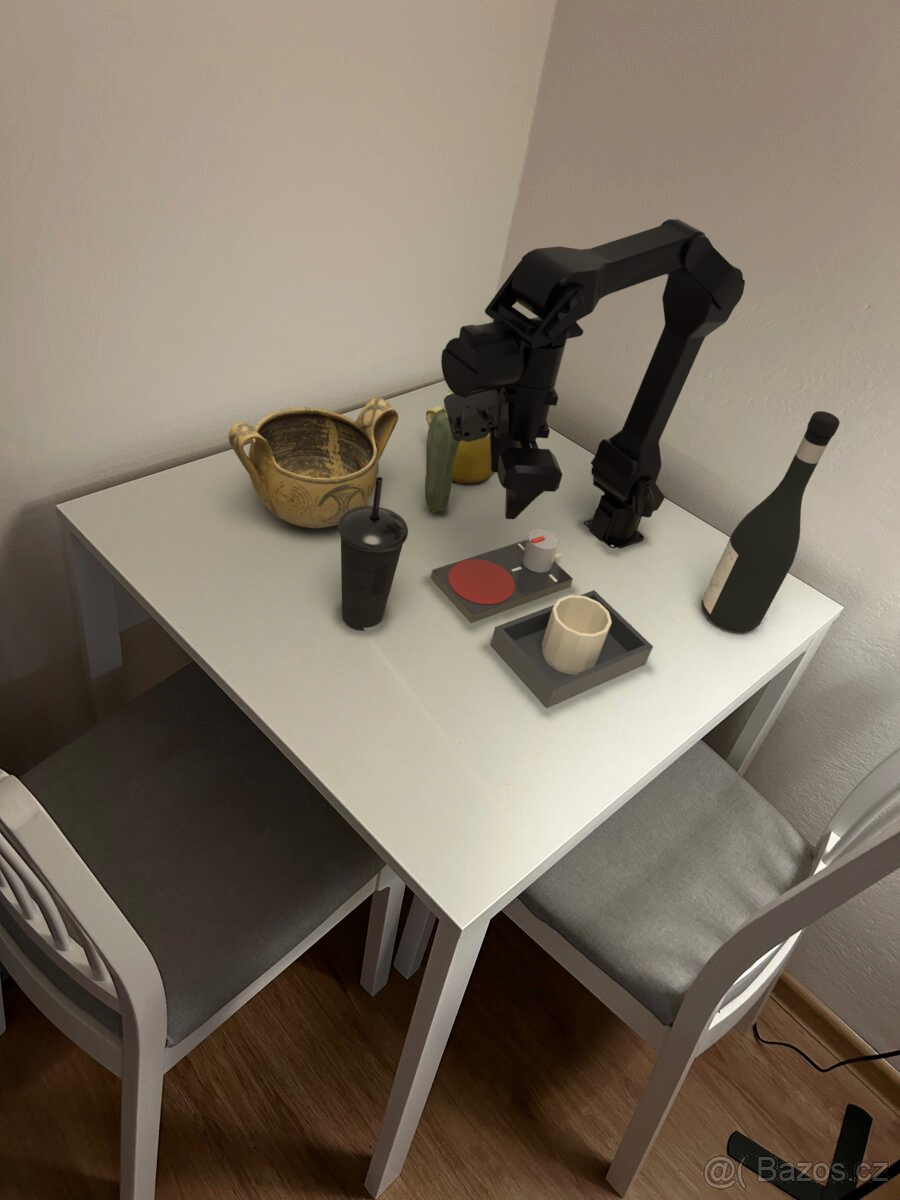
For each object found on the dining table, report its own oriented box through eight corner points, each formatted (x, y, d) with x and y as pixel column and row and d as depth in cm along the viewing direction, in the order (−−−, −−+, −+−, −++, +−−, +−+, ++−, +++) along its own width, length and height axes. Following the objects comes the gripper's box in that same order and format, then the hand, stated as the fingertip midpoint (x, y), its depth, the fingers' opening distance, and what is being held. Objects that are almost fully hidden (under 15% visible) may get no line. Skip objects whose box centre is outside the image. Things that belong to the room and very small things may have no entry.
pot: (572, 628, 110) (585, 589, 106) (607, 664, 107) (622, 625, 102) (530, 644, 107) (542, 605, 103) (565, 682, 103) (578, 642, 99)
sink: (586, 610, 114) (594, 589, 112) (644, 667, 108) (653, 646, 106) (489, 648, 106) (494, 626, 104) (545, 711, 100) (552, 690, 98)
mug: (520, 469, 132) (508, 411, 126) (464, 503, 129) (449, 445, 123) (473, 440, 141) (460, 385, 134) (420, 471, 138) (403, 416, 131)
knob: (539, 549, 119) (546, 524, 116) (558, 567, 116) (566, 542, 114) (515, 557, 117) (522, 531, 114) (534, 576, 114) (541, 550, 112)
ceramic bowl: (262, 569, 110) (264, 468, 100) (206, 494, 120) (202, 394, 110) (413, 525, 122) (428, 430, 112) (351, 459, 131) (359, 366, 121)
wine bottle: (689, 615, 117) (781, 414, 97) (711, 586, 122) (803, 390, 102) (746, 645, 114) (853, 445, 94) (767, 614, 119) (872, 419, 99)
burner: (488, 553, 117) (489, 552, 116) (527, 593, 112) (527, 592, 112) (435, 570, 112) (435, 569, 112) (473, 612, 108) (473, 611, 108)
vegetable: (442, 526, 123) (466, 397, 109) (412, 518, 123) (432, 388, 110) (449, 508, 126) (473, 380, 113) (419, 500, 126) (440, 372, 113)
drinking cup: (403, 608, 109) (426, 472, 96) (379, 647, 104) (399, 509, 90) (346, 587, 110) (360, 450, 97) (319, 625, 105) (330, 485, 92)
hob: (536, 546, 122) (540, 534, 121) (578, 586, 117) (582, 574, 116) (429, 581, 114) (432, 568, 112) (469, 626, 109) (472, 613, 107)
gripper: (443, 329, 101) (425, 446, 111) (469, 418, 87) (446, 542, 98) (539, 336, 103) (512, 451, 113) (578, 424, 89) (544, 545, 100)
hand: (502, 494), depth 106 cm, fingers open, 9 cm apart
